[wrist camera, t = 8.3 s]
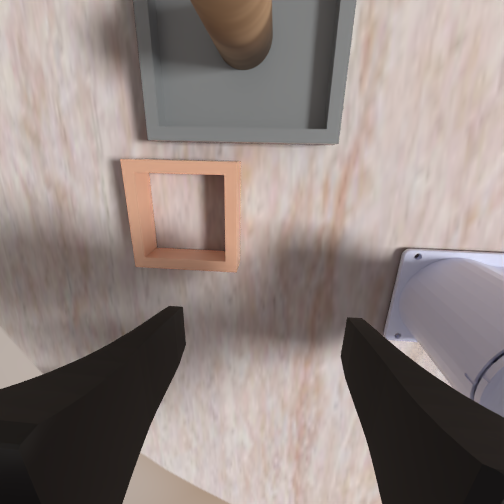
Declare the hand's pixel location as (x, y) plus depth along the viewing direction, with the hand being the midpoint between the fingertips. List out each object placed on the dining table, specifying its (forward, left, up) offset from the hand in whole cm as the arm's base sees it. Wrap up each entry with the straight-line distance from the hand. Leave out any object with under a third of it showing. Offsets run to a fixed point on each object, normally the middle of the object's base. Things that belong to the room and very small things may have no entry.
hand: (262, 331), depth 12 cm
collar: (+6, -3, -10) cm, 12 cm away
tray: (+2, -14, -10) cm, 17 cm away
